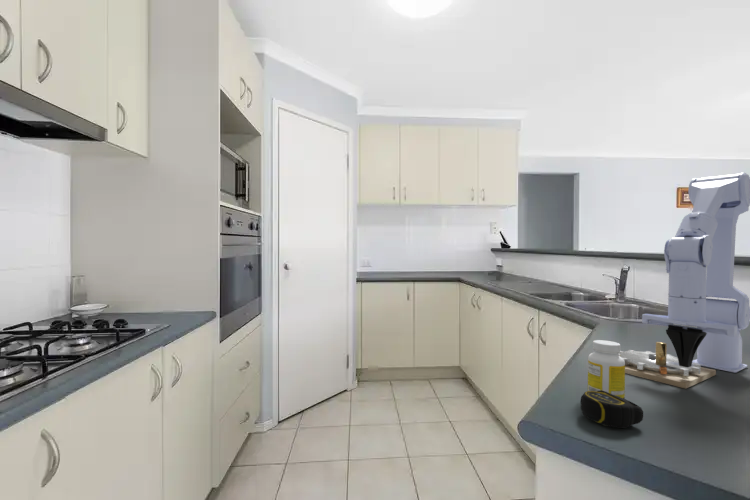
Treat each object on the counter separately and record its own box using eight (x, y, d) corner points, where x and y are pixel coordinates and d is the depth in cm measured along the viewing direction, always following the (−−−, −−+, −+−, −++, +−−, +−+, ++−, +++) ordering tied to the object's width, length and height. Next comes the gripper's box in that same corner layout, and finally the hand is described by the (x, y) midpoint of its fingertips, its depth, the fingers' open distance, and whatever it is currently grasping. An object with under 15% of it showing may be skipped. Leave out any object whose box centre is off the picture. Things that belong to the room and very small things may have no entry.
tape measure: (646, 430, 53) (646, 403, 53) (609, 436, 51) (610, 408, 51) (603, 410, 60) (604, 387, 60) (569, 414, 58) (570, 390, 58)
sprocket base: (631, 356, 93) (632, 351, 93) (715, 374, 80) (716, 368, 80) (597, 366, 84) (597, 360, 84) (685, 388, 71) (686, 381, 71)
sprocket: (610, 351, 92) (611, 328, 92) (688, 361, 85) (689, 336, 85) (618, 367, 79) (619, 340, 79) (712, 380, 72) (713, 350, 72)
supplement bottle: (625, 399, 64) (626, 342, 65) (623, 409, 60) (625, 348, 60) (589, 391, 68) (590, 337, 68) (585, 400, 63) (586, 342, 63)
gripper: (636, 294, 78) (634, 359, 78) (729, 302, 66) (728, 380, 66) (650, 292, 82) (649, 355, 82) (741, 300, 70) (739, 373, 69)
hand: (685, 365), depth 74 cm, fingers closed
